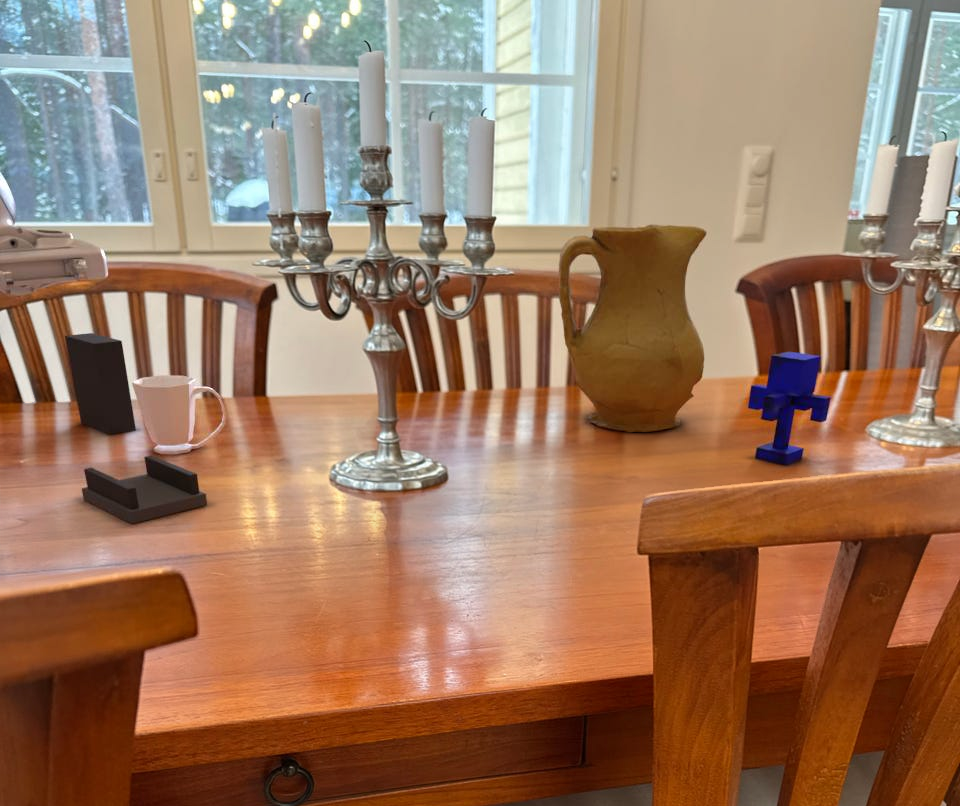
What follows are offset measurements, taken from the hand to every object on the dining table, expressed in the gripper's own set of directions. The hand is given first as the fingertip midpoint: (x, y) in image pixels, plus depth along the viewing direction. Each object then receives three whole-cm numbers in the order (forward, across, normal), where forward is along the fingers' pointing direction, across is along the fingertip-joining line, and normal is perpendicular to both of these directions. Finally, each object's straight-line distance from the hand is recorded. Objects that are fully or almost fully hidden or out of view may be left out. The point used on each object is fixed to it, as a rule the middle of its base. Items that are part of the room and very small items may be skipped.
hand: (46, 276), depth 114 cm
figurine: (+75, +57, +14) cm, 95 cm away
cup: (+27, +4, +16) cm, 32 cm away
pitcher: (+50, +57, +15) cm, 78 cm away
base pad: (+43, -8, +14) cm, 46 cm away
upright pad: (+11, 0, +17) cm, 20 cm away
